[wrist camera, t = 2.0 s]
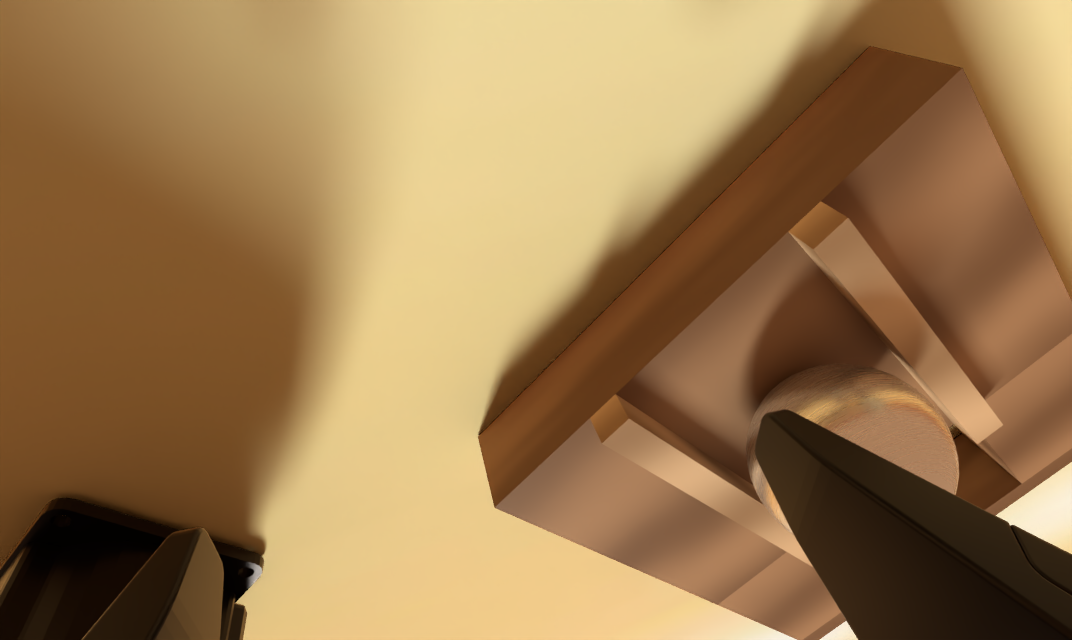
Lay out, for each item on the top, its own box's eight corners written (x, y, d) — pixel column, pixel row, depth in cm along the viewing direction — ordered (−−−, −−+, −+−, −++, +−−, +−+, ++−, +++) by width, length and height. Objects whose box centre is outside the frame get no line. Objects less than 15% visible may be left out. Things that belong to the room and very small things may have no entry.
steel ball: (682, 418, 17) (780, 568, 13) (818, 297, 16) (972, 422, 12) (768, 478, 20) (871, 618, 16) (891, 378, 19) (1037, 502, 15)
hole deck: (477, 437, 20) (501, 535, 17) (870, 45, 16) (1001, 77, 13) (774, 587, 30) (824, 666, 27) (1057, 375, 26) (1155, 439, 23)
